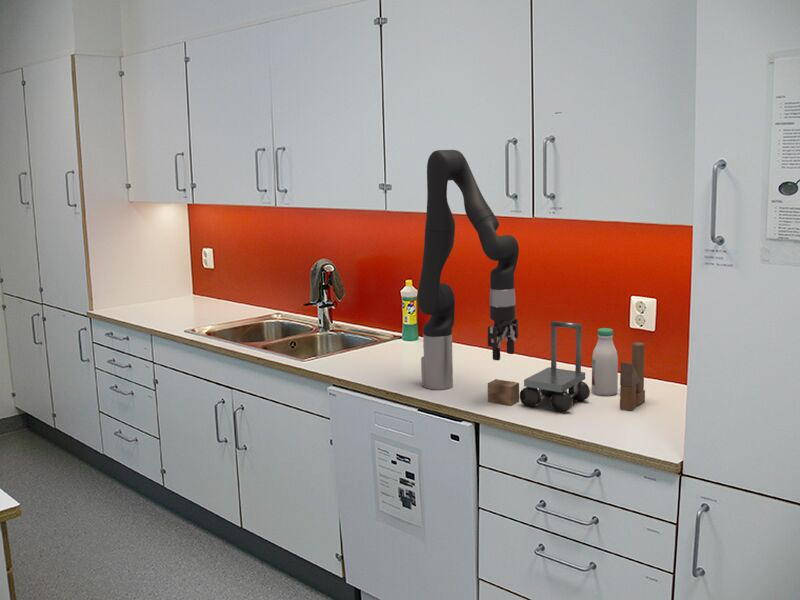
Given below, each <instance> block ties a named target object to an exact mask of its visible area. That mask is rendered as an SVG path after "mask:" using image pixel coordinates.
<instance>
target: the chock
mask: <svg viewBox="0 0 800 600" xmlns="http://www.w3.org/2000/svg"><path fill="white" fill-rule="evenodd" d="M487 402H488V403H491V404H498V405H503V406H509V407H513V406H514V405H516V404H518V403H520V382H515V381H510V380H502V379H493V380H491V381H489V382H488V383H487Z"/></svg>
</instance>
